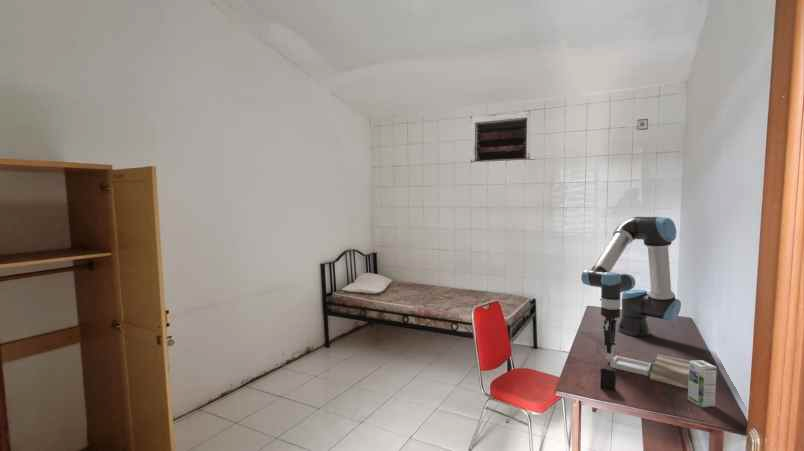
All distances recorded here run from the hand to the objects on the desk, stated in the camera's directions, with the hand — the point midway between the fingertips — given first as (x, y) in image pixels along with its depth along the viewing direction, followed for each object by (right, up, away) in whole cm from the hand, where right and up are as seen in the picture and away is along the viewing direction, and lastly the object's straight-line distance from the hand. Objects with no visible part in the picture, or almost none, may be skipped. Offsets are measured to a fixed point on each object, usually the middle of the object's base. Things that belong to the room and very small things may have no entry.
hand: (609, 359), depth 173 cm
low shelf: (+18, -2, -15) cm, 24 cm away
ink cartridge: (-13, -3, -24) cm, 28 cm away
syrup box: (+14, -4, -35) cm, 38 cm away
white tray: (+7, -2, -5) cm, 9 cm away
